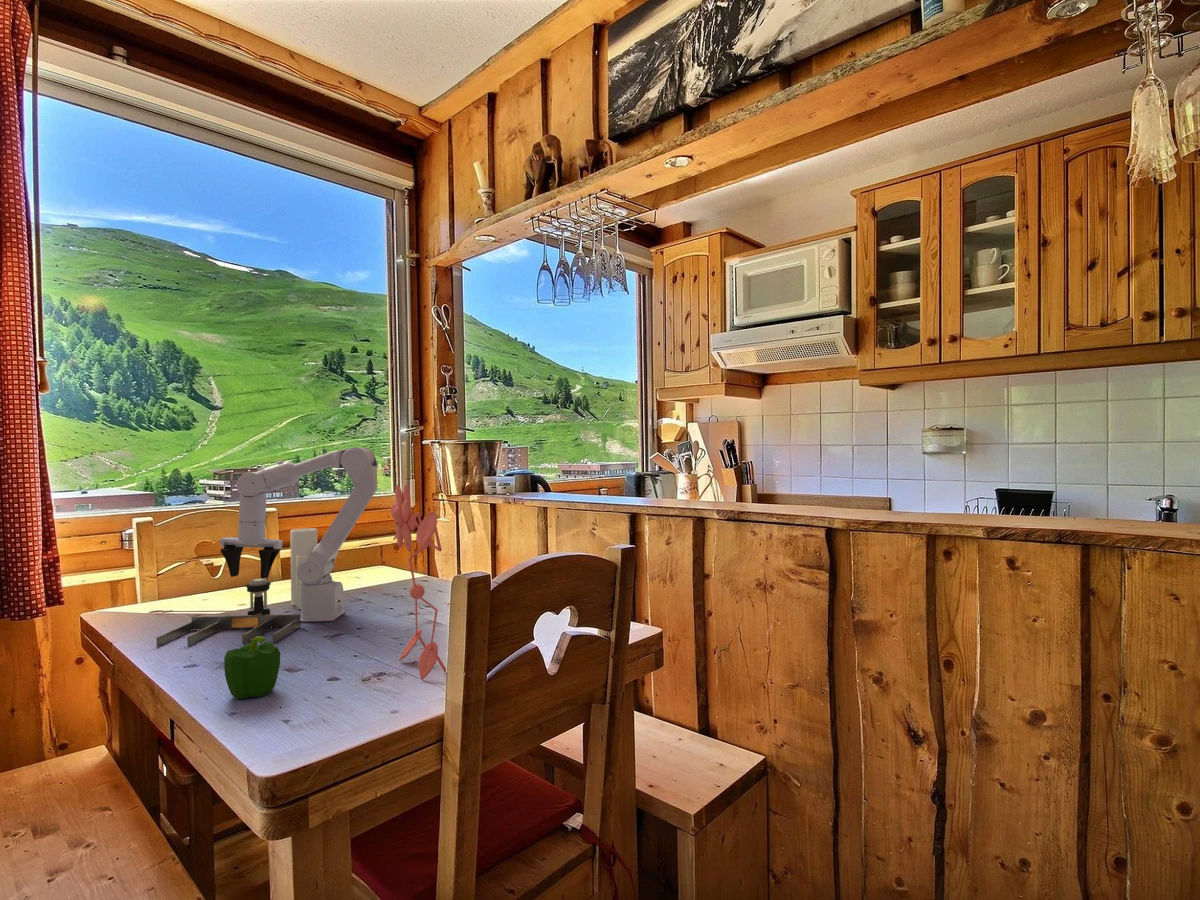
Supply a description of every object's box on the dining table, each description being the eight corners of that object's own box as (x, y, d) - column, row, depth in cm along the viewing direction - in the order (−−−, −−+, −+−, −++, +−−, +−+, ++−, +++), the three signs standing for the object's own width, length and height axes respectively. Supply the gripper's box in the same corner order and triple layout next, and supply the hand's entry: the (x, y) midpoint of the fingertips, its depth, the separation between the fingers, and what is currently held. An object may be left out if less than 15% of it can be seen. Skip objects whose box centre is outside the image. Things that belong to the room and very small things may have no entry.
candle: (288, 602, 166) (287, 529, 166) (316, 598, 171) (315, 527, 171) (299, 610, 158) (298, 533, 158) (328, 605, 162) (327, 531, 162)
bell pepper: (218, 694, 103) (218, 635, 103) (271, 681, 109) (270, 625, 109) (232, 708, 97) (231, 646, 97) (287, 694, 103) (286, 635, 103)
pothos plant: (424, 646, 127) (418, 479, 127) (466, 686, 106) (459, 485, 105) (346, 662, 119) (339, 484, 119) (374, 709, 97) (366, 491, 97)
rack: (300, 626, 143) (300, 613, 143) (274, 643, 131) (274, 629, 131) (193, 629, 142) (193, 616, 142) (156, 646, 130) (156, 632, 130)
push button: (240, 625, 145) (240, 583, 145) (239, 620, 149) (238, 580, 149) (272, 621, 148) (271, 580, 148) (270, 616, 153) (269, 576, 153)
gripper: (212, 521, 145) (209, 578, 145) (271, 524, 144) (268, 581, 144) (231, 518, 152) (229, 572, 152) (288, 521, 151) (285, 575, 151)
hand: (249, 576), depth 149 cm, fingers open, 7 cm apart
